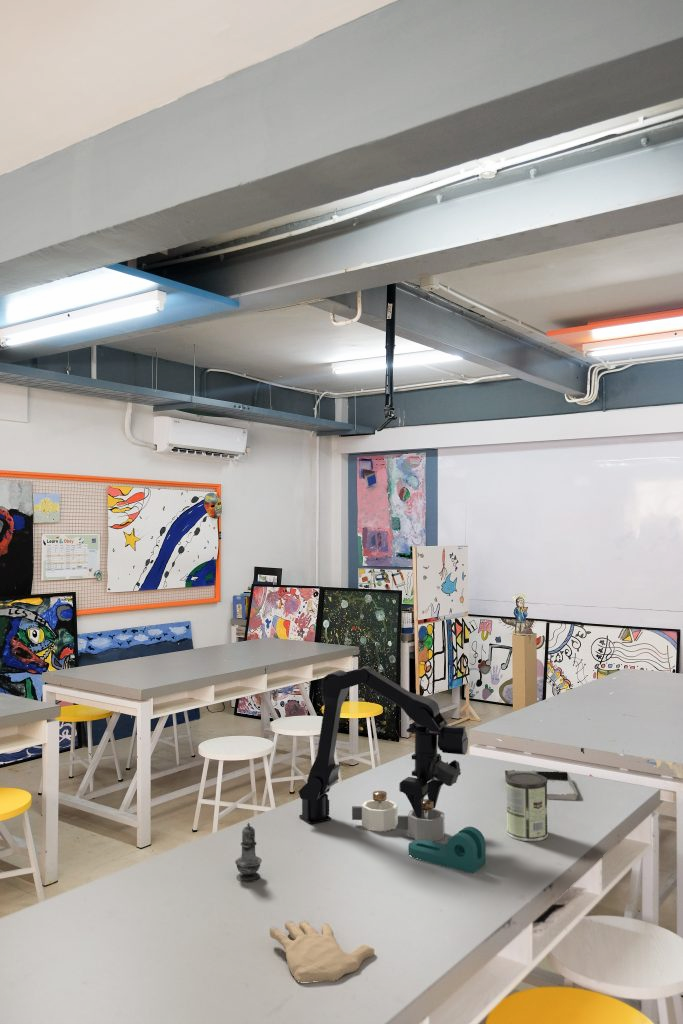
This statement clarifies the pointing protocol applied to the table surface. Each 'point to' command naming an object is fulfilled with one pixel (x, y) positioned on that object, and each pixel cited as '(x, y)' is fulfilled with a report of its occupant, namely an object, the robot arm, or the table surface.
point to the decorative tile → (553, 776)
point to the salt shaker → (248, 857)
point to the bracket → (453, 850)
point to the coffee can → (526, 806)
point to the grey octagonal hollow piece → (423, 825)
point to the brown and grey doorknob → (379, 797)
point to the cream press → (377, 815)
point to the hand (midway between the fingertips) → (426, 812)
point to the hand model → (317, 953)
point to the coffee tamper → (427, 807)
